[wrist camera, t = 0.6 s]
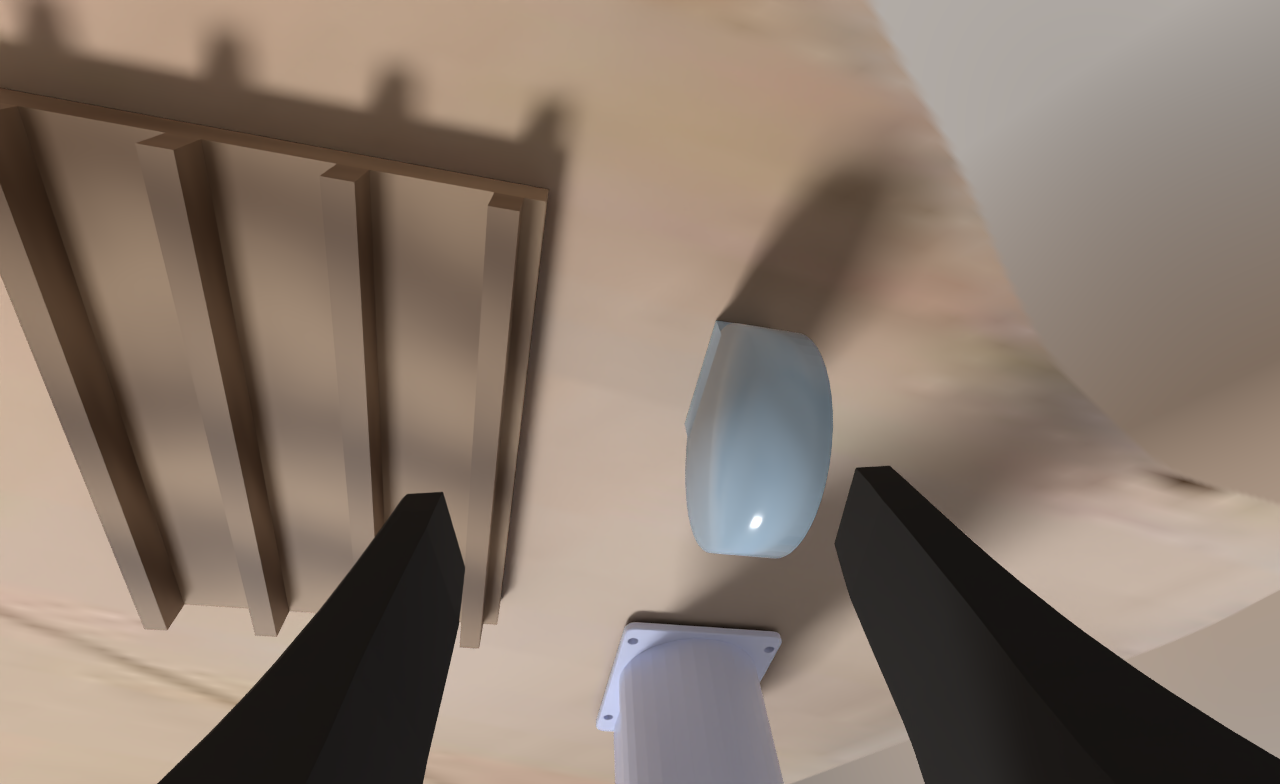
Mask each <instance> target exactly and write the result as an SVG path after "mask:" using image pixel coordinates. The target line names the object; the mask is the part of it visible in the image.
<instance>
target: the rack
mask: <svg viewBox="0 0 1280 784" xmlns="http://www.w3.org/2000/svg"><path fill="white" fill-rule="evenodd" d="M548 192H549V189H544V188H538V187H533V186H527V185H522V184H517V183H511V182H506V181H500V180H495V179H490V178H484V177H479V176H473V175H468V174H463V173H457V172H452V171H446V170H441V169H435V168H430V167H425V166H419V165H414V164H408V163H403V162H398V161H392V160H387V159H381V158H376V157H371V156H365V155H360V154H354V153H349V152H344V151H338V150H333V149H327V148H322V147H317V146H311V145H306V144H300V143H295V142H289V141H284V140H279V139H273V138H268V137H262V136H257V135H252V134H246V133H241V132H235V131H230V130H225V129H219V128H214V127H208V126H203V125H198V124H192V123H187V122H181V121H176V120H170V119H165V118H160V117H154V116H149V115H143V114H138V113H133V112H127V111H122V110H116V109H111V108H106V107H100V106H95V105H89V104H84V103H79V102H73V101H68V100H62V99H57V98H52V97H46V96H41V95H35V94H30V93H24V92H19V91H14V90H8V89H3V88H0V275H1V277H2V280H3V282H4V285H5V287H6V290H7V292H8V295H9V297H10V300H11V302H12V305H13V307H14V309H15V312H16V314H17V317H18V319H19V322H20V324H21V327H22V329H23V332H24V334H25V337H26V339H27V341H28V344H29V346H30V349H31V351H32V354H33V356H34V359H35V361H36V364H37V366H38V368H39V371H40V373H41V376H42V378H43V381H44V383H45V386H46V388H47V391H48V393H49V396H50V398H51V400H52V403H53V405H54V408H55V410H56V413H57V415H58V418H59V420H60V423H61V425H62V428H63V430H64V432H65V435H66V437H67V440H68V442H69V445H70V447H71V450H72V452H73V455H74V457H75V459H76V462H77V464H78V467H79V469H80V472H81V474H82V477H83V479H84V482H85V484H86V487H87V489H88V491H89V494H90V496H91V499H92V501H93V504H94V506H95V509H96V511H97V514H98V516H99V519H100V521H101V523H102V526H103V528H104V531H105V533H106V536H107V538H108V541H109V543H110V546H111V548H112V550H113V553H114V555H115V558H116V560H117V563H118V565H119V568H120V570H121V573H122V575H123V578H124V580H125V582H126V585H127V587H128V590H129V592H130V595H131V597H132V600H133V602H134V605H135V607H136V610H137V612H138V614H139V617H140V619H141V622H142V624H143V627H144V629H151V630H168V628H169V627H170V625H171V624H172V622H173V621H174V619H175V618H176V616H177V615H178V613H179V612H180V610H181V609H182V607H183V606H184V604H186V605H201V606H217V607H232V608H248V609H249V612H250V616H251V620H252V624H253V628H254V632H255V636H272V637H277V635H278V633H279V631H280V629H281V627H282V625H283V623H284V621H285V619H286V617H287V615H288V612H289V611H294V612H310V613H317V612H318V611H319V610H320V608H321V607H322V606H323V605H324V603H325V602H326V601H327V599H328V598H329V597H330V596H331V594H332V593H333V592H334V590H335V589H336V588H337V587H338V585H339V584H340V583H341V581H342V580H343V579H344V578H345V576H346V575H347V574H348V572H349V571H350V570H351V568H352V567H353V566H354V565H355V563H356V562H357V561H358V559H359V558H360V556H361V555H362V554H363V552H364V551H365V550H366V548H367V547H368V546H369V544H370V543H371V541H372V540H373V539H374V537H375V536H376V535H377V533H378V532H379V530H380V529H381V528H382V526H383V525H384V523H385V522H386V521H387V519H388V518H389V516H390V515H391V514H392V512H393V511H394V509H395V508H396V506H397V505H398V504H399V502H400V501H401V499H402V498H403V497H404V496H405V495H406V494H414V493H431V492H443V493H444V497H445V500H446V504H447V507H448V510H449V514H450V517H451V521H452V524H453V527H454V531H455V534H456V538H457V541H458V544H459V548H460V551H461V555H462V558H463V561H464V565H465V575H464V584H463V594H462V603H461V611H460V619H459V622H461V634H460V647H463V648H479V645H480V639H481V634H482V628H483V624H496V625H497V621H498V614H499V608H500V601H501V592H502V584H503V575H504V567H505V558H506V550H507V541H508V533H509V524H510V516H511V507H512V499H513V490H514V482H515V473H516V465H517V456H518V448H519V439H520V431H521V422H522V414H523V405H524V397H525V388H526V380H527V371H528V363H529V354H530V346H531V337H532V329H533V320H534V311H535V303H536V294H537V286H538V277H539V269H540V260H541V252H542V243H543V235H544V226H545V218H546V209H547V201H548Z"/></svg>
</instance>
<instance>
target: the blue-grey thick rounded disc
mask: <svg viewBox="0 0 1280 784" xmlns="http://www.w3.org/2000/svg"><path fill="white" fill-rule="evenodd" d="M685 427H686V432H687V446H686V466H685V484H686V500H687V509H688V515H689V520H690V525H691V528H692V532H693V535H694V537H695V539H696V541H697V543H698V545H699V546H700V547H701V548H702V549H703V550H704V551H706V552H708V553H718V554H729V555H740V556H751V557H763V558H776V559H778V558H782V557H785V556H786V555H788V554H790V553H791V552H792V551H793V550H794V549H795V548H796V547H797V546H798V545H799V544H800V543H801V541H802V540H803V539H804V537H805V535H806V534H807V532H808V530H809V529H810V527H811V525H812V522H813V520H814V518H815V516H816V513H817V511H818V508H819V505H820V502H821V499H822V495H823V492H824V488H825V484H826V480H827V475H828V469H829V464H830V456H831V448H832V433H833V410H832V397H831V390H830V383H829V378H828V374H827V370H826V367H825V364H824V361H823V358H822V356H821V354H820V352H819V350H818V348H817V347H816V345H815V344H814V343H813V341H812V340H811V339H810V338H808V337H807V336H806V335H804V334H801V333H797V332H790V331H784V330H778V329H771V328H765V327H758V326H752V325H746V324H739V323H729V322H723V321H717V320H716V322H715V326H714V329H713V332H712V335H711V339H710V342H709V345H708V349H707V352H706V355H705V358H704V362H703V365H702V368H701V372H700V375H699V378H698V382H697V385H696V388H695V391H694V395H693V398H692V401H691V405H690V408H689V411H688V415H687V418H686V421H685Z"/></svg>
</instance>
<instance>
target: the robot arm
mask: <svg viewBox="0 0 1280 784" xmlns="http://www.w3.org/2000/svg"><path fill="white" fill-rule="evenodd" d="M835 547H836V551H837V554H838V558H839V562H840V565H841V569H842V572H843V576H844V579H845V582H846V586H847V589H848V592H849V595H850V598H851V601H852V603H853V606H854V608H855V611H856V613H857V615H858V618H859V620H860V622H861V625H862V627H863V630H864V632H865V634H866V637H867V639H868V641H869V644H870V646H871V648H872V651H873V653H874V655H875V658H876V660H877V662H878V665H879V667H880V669H881V671H882V674H883V676H884V678H885V681H886V683H887V685H888V688H889V690H890V692H891V695H892V697H893V699H894V702H895V704H896V706H897V709H898V711H899V713H900V716H901V718H902V720H903V723H904V725H905V728H906V730H907V733H908V736H909V738H910V741H911V743H912V746H913V749H914V751H915V754H916V758H917V760H918V764H919V767H920V770H921V773H922V776H923V779H924V782H925V784H1280V759H1279V758H1277V757H1275V756H1273V755H1272V754H1270V753H1268V752H1267V751H1265V750H1263V749H1262V748H1260V747H1258V746H1257V745H1255V744H1253V743H1252V742H1250V741H1248V740H1247V739H1245V738H1243V737H1242V736H1240V735H1238V734H1236V733H1235V732H1233V731H1232V730H1230V729H1228V728H1227V727H1225V726H1224V725H1222V724H1220V723H1219V722H1217V721H1216V720H1214V719H1213V718H1211V717H1209V716H1208V715H1206V714H1205V713H1203V712H1201V711H1200V710H1198V709H1197V708H1195V707H1193V706H1192V705H1190V704H1189V703H1187V702H1186V701H1184V700H1183V699H1181V698H1180V697H1178V696H1176V695H1175V694H1173V693H1172V692H1170V691H1169V690H1167V689H1166V688H1164V687H1163V686H1161V685H1160V684H1158V683H1156V682H1155V681H1154V680H1152V679H1151V678H1149V677H1148V676H1146V675H1144V674H1143V673H1142V672H1140V671H1138V670H1137V669H1136V668H1134V667H1133V666H1131V665H1130V664H1129V663H1127V662H1126V661H1124V660H1123V659H1122V658H1120V657H1119V656H1117V655H1116V654H1115V653H1113V652H1112V651H1110V650H1109V649H1108V648H1106V647H1105V646H1103V645H1102V644H1101V643H1099V642H1098V641H1096V640H1095V639H1093V638H1092V637H1091V636H1089V635H1088V634H1086V633H1085V632H1084V631H1082V630H1081V629H1080V628H1078V627H1077V626H1076V625H1074V624H1073V623H1072V622H1070V621H1069V620H1068V619H1066V618H1065V617H1064V616H1063V615H1061V614H1060V613H1059V612H1057V611H1056V610H1055V609H1054V608H1052V607H1051V606H1050V605H1049V604H1047V603H1046V602H1045V601H1044V600H1042V599H1041V598H1040V597H1039V596H1037V595H1036V594H1035V593H1034V592H1032V591H1031V590H1030V589H1029V588H1027V587H1026V586H1025V585H1024V584H1022V583H1021V582H1020V581H1019V580H1017V579H1016V578H1015V577H1014V576H1013V575H1011V574H1010V573H1009V572H1008V571H1007V570H1005V569H1004V568H1003V567H1002V566H1001V565H1000V564H998V563H997V562H996V561H995V560H994V559H993V558H991V557H990V556H989V555H988V554H987V553H986V552H984V551H983V550H982V549H981V548H980V547H979V546H978V545H976V544H975V543H974V542H973V541H972V540H971V539H970V538H969V537H967V536H966V535H965V534H964V533H963V532H962V531H961V530H960V529H958V528H957V527H956V526H955V525H954V524H953V523H952V522H951V521H950V520H949V519H947V518H946V517H945V516H944V515H943V514H942V513H941V512H940V511H939V510H938V509H936V508H935V507H934V506H933V505H932V504H931V503H930V502H929V501H928V500H927V499H926V498H925V497H923V496H922V495H921V494H920V493H919V492H918V491H917V490H916V489H915V488H914V487H913V486H911V485H910V484H909V483H908V482H907V481H906V480H905V479H904V478H903V477H902V476H901V475H899V474H898V473H897V472H896V471H895V470H894V469H893V468H892V467H890V466H879V467H862V468H856V469H855V473H854V477H853V480H852V484H851V487H850V491H849V494H848V498H847V501H846V505H845V508H844V512H843V515H842V519H841V523H840V526H839V530H838V533H837V537H836V540H835ZM464 575H465V565H464V561H463V558H462V555H461V551H460V548H459V544H458V541H457V538H456V534H455V531H454V527H453V524H452V521H451V517H450V514H449V510H448V507H447V504H446V500H445V497H444V493H443V492H431V493H414V494H406V495H405V496H404V497H403V498H402V499H401V501H400V502H399V504H398V505H397V506H396V508H395V509H394V511H393V512H392V514H391V515H390V516H389V518H388V519H387V521H386V522H385V523H384V525H383V526H382V528H381V529H380V530H379V532H378V533H377V535H376V536H375V537H374V539H373V540H372V541H371V543H370V544H369V546H368V547H367V548H366V550H365V551H364V552H363V554H362V555H361V556H360V558H359V559H358V561H357V562H356V563H355V565H354V566H353V567H352V568H351V570H350V571H349V572H348V574H347V575H346V576H345V578H344V579H343V580H342V581H341V583H340V584H339V585H338V587H337V588H336V589H335V590H334V592H333V593H332V594H331V596H330V597H329V598H328V599H327V601H326V602H325V603H324V605H323V606H322V607H321V608H320V610H319V611H318V612H317V613H316V615H315V616H314V617H313V618H312V619H311V621H310V622H309V623H308V624H307V625H306V627H305V628H304V629H303V630H302V631H301V632H300V634H299V635H298V636H297V637H296V638H295V640H294V641H293V642H292V643H291V644H290V645H289V647H288V648H287V649H286V650H285V651H284V653H283V654H282V655H281V656H280V657H279V658H278V660H277V661H276V662H275V663H274V664H273V665H272V667H271V668H270V669H269V670H268V671H267V672H266V673H265V674H264V675H263V677H262V678H261V679H260V680H259V681H258V682H257V683H256V684H255V685H254V686H253V688H252V689H251V690H250V691H249V692H248V693H247V694H246V695H245V696H244V697H243V698H242V699H241V701H240V702H239V703H238V704H237V705H236V706H235V707H234V708H233V709H232V710H231V711H230V712H229V713H228V714H227V715H226V716H225V717H224V718H223V719H222V720H221V721H220V722H219V723H218V725H217V726H216V727H215V728H214V729H213V730H212V731H211V732H210V733H209V734H208V735H207V736H206V737H205V738H204V739H203V740H202V741H201V742H200V743H199V744H198V745H196V746H195V747H194V748H193V749H192V750H191V751H190V752H189V753H188V754H187V755H186V756H185V757H184V758H183V759H182V760H181V761H180V762H179V763H178V764H177V765H176V766H175V767H174V768H173V769H172V770H171V771H170V772H169V773H168V774H167V775H166V776H165V777H164V778H163V779H162V780H161V781H160V782H159V783H157V784H423V780H424V775H425V770H426V765H427V760H428V755H429V751H430V747H431V742H432V738H433V734H434V730H435V725H436V721H437V717H438V713H439V708H440V704H441V700H442V696H443V691H444V687H445V683H446V679H447V674H448V670H449V666H450V661H451V657H452V653H453V648H454V644H455V639H456V635H457V630H458V626H459V619H460V611H461V603H462V594H463V584H464ZM781 643H782V640H781V636H780V634H779V633H777V632H774V631H760V630H745V629H731V628H716V627H701V626H686V625H672V624H657V623H642V622H632V623H629V624H628V625H626V626H625V628H624V631H623V634H622V637H621V641H620V644H619V647H618V651H617V654H616V657H615V660H614V664H613V667H612V670H611V673H610V677H609V680H608V683H607V686H606V690H605V693H604V696H603V700H602V703H601V706H600V709H599V713H598V716H597V719H596V727H597V729H599V730H601V731H614V756H615V784H784V782H783V778H782V774H781V770H780V766H779V761H778V757H777V753H776V749H775V745H774V741H773V736H772V732H771V728H770V724H769V720H768V716H767V711H766V707H765V703H764V699H763V695H762V691H761V686H760V682H761V680H762V678H763V676H764V674H765V673H766V671H767V669H768V667H769V665H770V663H771V662H772V660H773V658H774V656H775V654H776V653H777V651H778V649H779V647H780V645H781Z"/></svg>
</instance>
